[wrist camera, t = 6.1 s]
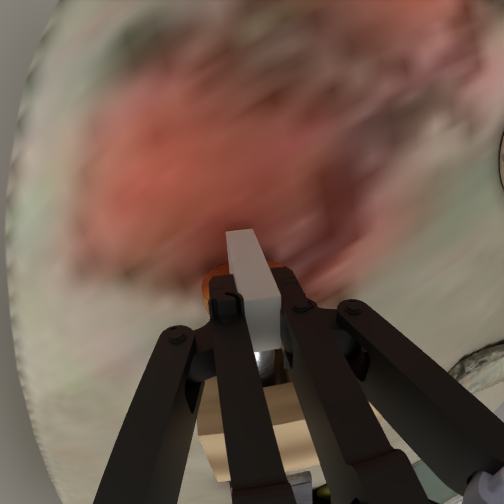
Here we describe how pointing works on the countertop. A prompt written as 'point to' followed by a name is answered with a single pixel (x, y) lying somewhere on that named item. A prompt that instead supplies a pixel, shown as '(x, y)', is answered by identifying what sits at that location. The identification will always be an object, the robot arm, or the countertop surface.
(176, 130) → the countertop surface
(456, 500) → the disposable coffee cup
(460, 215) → the countertop surface
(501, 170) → the teacup with lid
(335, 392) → the robot arm
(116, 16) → the countertop surface
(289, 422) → the oak block
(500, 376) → the long grey stone
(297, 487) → the plate
